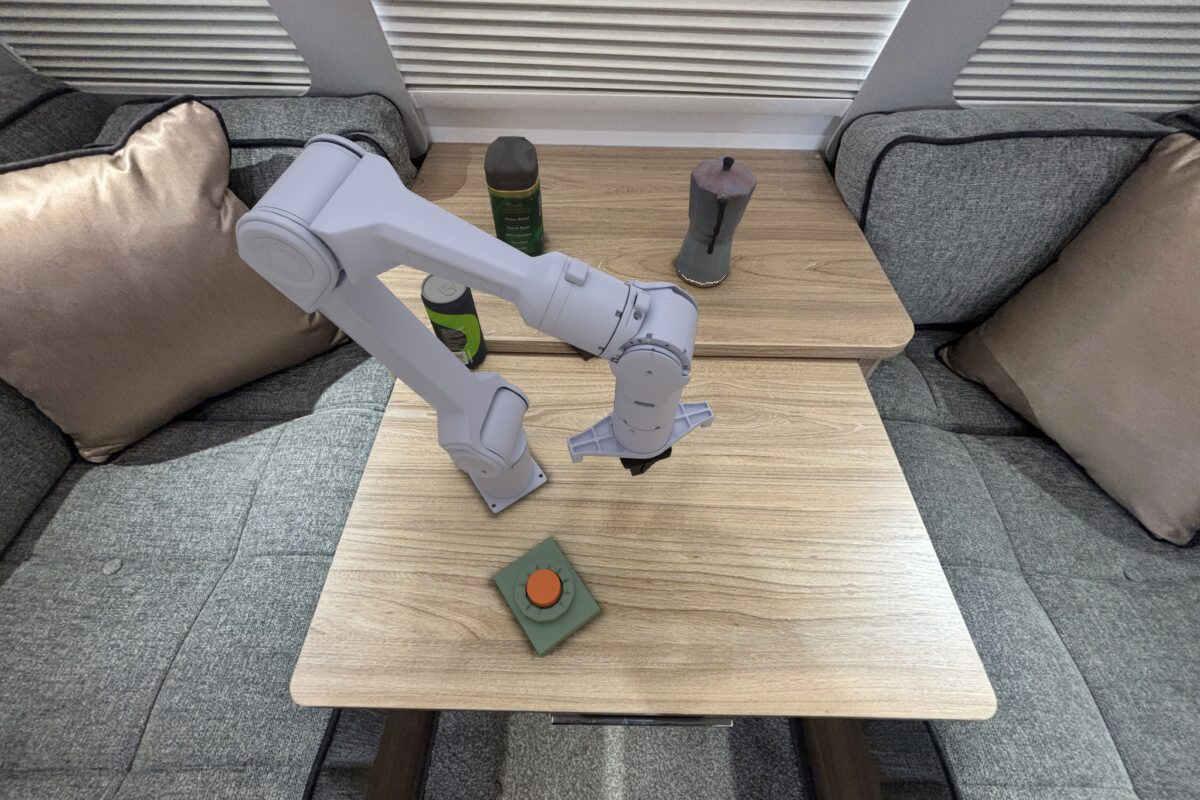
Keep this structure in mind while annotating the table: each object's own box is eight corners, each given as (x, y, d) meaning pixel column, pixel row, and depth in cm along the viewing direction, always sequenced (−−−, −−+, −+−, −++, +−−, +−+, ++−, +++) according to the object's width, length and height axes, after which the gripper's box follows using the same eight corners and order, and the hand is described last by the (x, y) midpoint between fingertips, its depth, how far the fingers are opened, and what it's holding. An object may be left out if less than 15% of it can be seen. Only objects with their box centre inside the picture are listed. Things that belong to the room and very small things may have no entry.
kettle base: (495, 581, 62) (489, 572, 59) (552, 542, 65) (550, 531, 62) (540, 657, 58) (537, 653, 55) (600, 612, 61) (600, 605, 57)
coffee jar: (545, 268, 90) (536, 169, 74) (498, 269, 89) (478, 170, 74) (546, 229, 95) (537, 129, 79) (501, 230, 94) (484, 129, 79)
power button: (522, 585, 59) (520, 582, 57) (549, 566, 60) (548, 562, 58) (539, 613, 57) (538, 610, 56) (567, 593, 58) (566, 590, 57)
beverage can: (496, 355, 80) (478, 284, 67) (464, 380, 77) (439, 311, 65) (469, 333, 82) (446, 260, 69) (437, 357, 79) (408, 286, 67)
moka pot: (729, 242, 94) (760, 134, 77) (732, 308, 86) (767, 203, 69) (675, 238, 94) (694, 129, 77) (673, 303, 86) (693, 197, 69)
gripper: (702, 350, 51) (682, 420, 62) (555, 386, 48) (562, 453, 60) (734, 410, 47) (706, 473, 59) (577, 453, 45) (580, 510, 56)
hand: (635, 467), depth 59 cm, fingers closed
